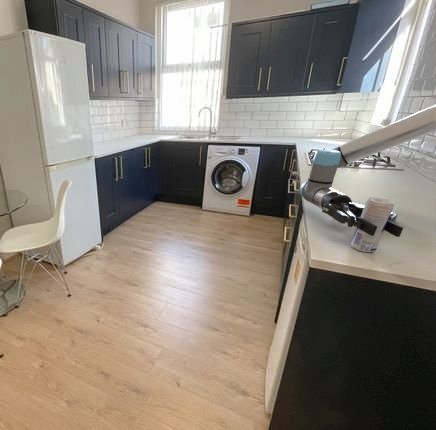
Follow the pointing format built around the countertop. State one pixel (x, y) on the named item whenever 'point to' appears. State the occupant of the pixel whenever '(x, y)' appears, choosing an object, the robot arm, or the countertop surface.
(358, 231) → the beverage can
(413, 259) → the countertop surface
